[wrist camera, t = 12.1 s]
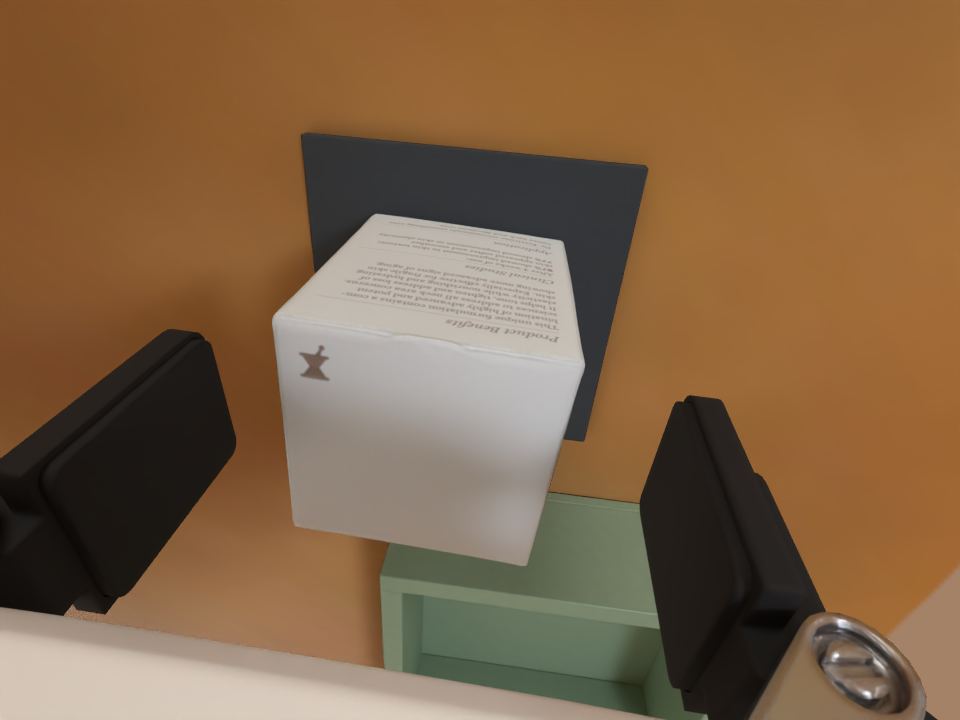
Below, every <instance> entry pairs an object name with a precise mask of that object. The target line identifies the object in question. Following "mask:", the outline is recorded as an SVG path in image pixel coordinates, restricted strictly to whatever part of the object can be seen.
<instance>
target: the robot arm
mask: <svg viewBox="0 0 960 720" xmlns="http://www.w3.org/2000/svg"><path fill="white" fill-rule="evenodd" d="M235 447H236V436H235V432H234V428H233V425H232V421H231V417H230V413H229V410H228V406H227V402H226V398H225V394H224V391H223V387H222V383H221V379H220V375H219V372H218V368H217V364H216V360H215V356H214V353H213V349H212V346H211V344H210V343H209V342H208V341H206V340H205V339H204V337H203V336H202V335H201V334H200V333H198V332H191V331H183V330H175V329H168V330H166V331H164V332H162V333H161V334H160V335H159V336H157V337H156V338H155V339H153V340H152V341H151V342H150V343H148V344H147V345H146V346H144V347H143V348H142V349H141V350H139V351H138V352H137V353H135V354H134V355H133V356H132V357H130V358H129V359H128V360H126V361H125V362H124V363H123V364H121V365H120V366H119V367H117V368H116V369H115V370H114V371H112V372H111V373H110V374H109V375H107V376H106V377H105V378H103V379H102V380H101V381H100V382H98V383H97V384H96V385H94V386H93V387H92V388H91V389H89V390H88V391H87V392H85V393H84V394H83V395H82V396H80V397H79V398H78V399H76V400H75V401H74V402H73V403H71V404H70V405H69V406H67V407H66V408H65V409H64V410H62V411H61V412H60V413H59V414H57V415H56V416H55V417H53V418H52V419H51V420H50V421H48V422H47V423H46V424H44V425H43V426H42V427H41V428H39V429H38V430H37V431H35V432H34V433H33V434H32V435H30V436H29V437H28V438H26V439H25V440H24V441H23V442H21V443H20V444H19V445H17V446H16V447H15V448H14V449H12V450H11V451H10V452H9V453H7V454H6V455H5V456H3V457H2V458H1V459H0V720H665V719H660V718H655V717H650V716H644V715H639V714H634V713H629V712H623V711H618V710H613V709H608V708H603V707H597V706H592V705H587V704H582V703H576V702H571V701H566V700H561V699H555V698H549V697H544V696H538V695H532V694H526V693H520V692H515V691H509V690H503V689H497V688H492V687H486V686H480V685H474V684H468V683H463V682H457V681H451V680H445V679H440V678H434V677H428V676H422V675H416V674H411V673H405V672H399V671H393V670H387V669H381V668H375V667H369V666H363V665H358V664H352V663H346V662H340V661H334V660H328V659H322V658H316V657H310V656H304V655H298V654H292V653H286V652H280V651H274V650H268V649H262V648H256V647H250V646H244V645H238V644H232V643H226V642H220V641H214V640H208V639H202V638H196V637H190V636H183V635H177V634H171V633H165V632H159V631H153V630H146V629H140V628H134V627H128V626H122V625H115V624H109V623H103V622H97V621H91V620H85V619H78V618H72V617H66V616H64V614H65V613H66V611H67V610H68V609H69V608H70V607H71V605H72V604H73V605H74V607H75V608H76V610H82V611H88V612H94V613H100V614H106V613H107V612H108V610H109V609H110V608H111V606H112V605H113V604H114V603H115V601H116V600H117V599H118V597H122V596H125V595H126V594H127V593H129V591H130V590H131V589H132V588H133V587H134V586H135V584H136V583H137V582H138V580H139V579H140V578H141V576H142V575H143V574H144V572H145V571H146V570H147V568H148V567H149V566H150V564H151V563H152V562H153V560H154V559H155V558H156V556H157V555H158V554H159V552H160V551H161V550H162V548H163V547H164V546H165V544H166V543H167V542H168V540H169V539H170V538H171V536H172V535H173V534H174V532H175V531H176V530H177V528H178V527H179V526H180V524H181V523H182V522H183V520H184V519H185V518H186V516H187V515H188V514H189V512H190V511H191V510H192V508H193V507H194V506H195V504H196V503H197V502H198V500H199V499H200V498H201V496H202V495H203V494H204V492H205V491H206V490H207V488H208V487H209V486H210V484H211V483H212V482H213V480H214V479H215V478H216V476H217V475H218V474H219V472H220V471H221V470H222V468H223V467H224V466H225V464H226V463H227V462H228V460H229V459H230V458H231V456H232V455H233V453H234V451H235ZM640 518H641V523H642V529H643V535H644V541H645V546H646V552H647V558H648V563H649V569H650V575H651V581H652V586H653V592H654V598H655V603H656V609H657V615H658V621H659V626H660V632H661V638H662V644H663V649H664V655H665V661H666V666H667V672H668V677H669V681H670V684H671V686H672V687H673V688H676V689H680V691H681V696H682V701H683V707H684V711H688V712H694V713H700V714H706V715H707V717H708V720H937V719H936V718H934V717H933V716H932V715H931V714H930V713H928V712H927V711H926V695H925V692H924V688H923V686H922V683H921V680H920V678H919V676H918V675H917V673H916V671H915V670H914V668H913V667H912V665H911V663H910V662H909V660H908V659H907V658H906V657H905V656H904V655H903V654H902V653H901V652H900V651H899V649H898V648H897V647H896V646H895V645H894V644H893V643H892V642H890V641H889V640H888V639H887V638H885V637H884V636H883V635H882V634H880V633H879V632H878V631H877V630H875V629H874V628H872V627H870V626H868V625H866V624H865V623H863V622H861V621H859V620H857V619H855V618H852V617H849V616H846V615H843V614H840V613H832V612H826V611H825V608H824V606H823V604H822V602H821V600H820V598H819V595H818V593H817V591H816V589H815V587H814V585H813V583H812V580H811V578H810V576H809V574H808V572H807V570H806V567H805V565H804V563H803V561H802V559H801V557H800V555H799V552H798V550H797V548H796V546H795V544H794V542H793V539H792V537H791V535H790V533H789V531H788V529H787V526H786V524H785V522H784V520H783V518H782V516H781V514H780V511H779V509H778V507H777V505H776V503H775V501H774V498H773V496H772V494H771V492H770V490H769V488H768V485H767V483H766V482H765V480H764V479H763V477H762V476H760V475H759V474H757V473H754V471H753V469H752V467H751V464H750V462H749V460H748V458H747V455H746V453H745V451H744V449H743V446H742V444H741V442H740V440H739V438H738V435H737V433H736V431H735V429H734V426H733V424H732V422H731V420H730V417H729V415H728V413H727V411H726V408H725V406H724V404H723V402H722V401H721V400H719V399H715V398H707V397H699V396H691V395H690V396H687V397H686V399H685V400H684V402H679V401H678V402H676V403H675V404H674V406H673V409H672V411H671V414H670V417H669V420H668V423H667V425H666V428H665V431H664V434H663V436H662V439H661V442H660V445H659V447H658V450H657V453H656V456H655V459H654V461H653V464H652V467H651V470H650V472H649V475H648V478H647V481H646V484H645V486H644V489H643V492H642V495H641V499H640Z"/></svg>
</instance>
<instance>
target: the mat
mask: <svg viewBox="0 0 960 720" xmlns="http://www.w3.org/2000/svg"><path fill="white" fill-rule="evenodd" d="M301 139H302V149H303V159H304V169H305V179H306V189H307V199H308V209H309V219H310V228H311V238H312V248H313V258H314V268H315V273H316V272H317V271H318V270H319V269H320V268H321V267H322V266H323V265H324V264H325V263H326V262H327V261H328V260H329V259H330V258H331V257H332V256H333V255H334V254H335V253H336V252H337V251H338V250H339V249H340V248H341V247H342V246H343V245H344V244H345V243H346V242H347V241H348V240H349V239H350V238H351V237H352V236H353V235H354V234H355V233H356V232H357V231H358V230H359V229H360V228H361V227H362V226H363V225H364V224H365V223H366V222H367V221H368V219H369V218H370V217H372V216H373V215H374V214H383V215H391V216H399V217H407V218H414V219H421V220H428V221H435V222H442V223H449V224H456V225H463V226H470V227H477V228H484V229H490V230H497V231H503V232H510V233H516V234H523V235H529V236H535V237H541V238H547V239H554V240H560V241H562V242H563V243H564V247H565V252H566V256H567V262H568V267H569V272H570V277H571V283H572V289H573V295H574V301H575V310H576V316H577V323H578V329H579V335H580V341H581V347H582V352H583V357H584V361H585V369H584V373H583V375H582V378H581V381H580V384H579V387H578V390H577V394H576V397H575V400H574V403H573V407H572V411H571V414H570V418H569V421H568V425H567V429H566V432H565V436H564V439H566V440H574V441H582V442H583V441H584V440H585V435H586V431H587V427H588V423H589V419H590V414H591V410H592V406H593V402H594V397H595V393H596V389H597V385H598V380H599V376H600V372H601V368H602V363H603V359H604V355H605V351H606V346H607V342H608V338H609V334H610V330H611V325H612V321H613V317H614V313H615V308H616V304H617V300H618V296H619V291H620V287H621V283H622V279H623V274H624V270H625V266H626V262H627V257H628V253H629V249H630V245H631V240H632V236H633V232H634V228H635V224H636V219H637V215H638V211H639V207H640V202H641V198H642V194H643V190H644V185H645V181H646V177H647V173H648V168H647V167H646V166H645V165H635V164H625V163H614V162H604V161H594V160H584V159H573V158H563V157H553V156H543V155H532V154H522V153H512V152H501V151H491V150H481V149H471V148H460V147H450V146H440V145H430V144H419V143H409V142H399V141H389V140H378V139H368V138H358V137H347V136H337V135H327V134H317V133H304V134H301Z"/></svg>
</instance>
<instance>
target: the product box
mask: <svg viewBox="0 0 960 720" xmlns="http://www.w3.org/2000/svg"><path fill="white" fill-rule="evenodd" d="M272 327H273V333H274V343H275V352H276V361H277V370H278V379H279V388H280V397H281V407H282V416H283V425H284V435H285V444H286V454H287V463H288V473H289V483H290V493H291V504H292V515H293V523H294V525H295V526H297V527H300V528H305V529H312V530H319V531H326V532H332V533H338V534H344V535H350V536H356V537H362V538H367V539H373V540H379V541H385V542H391V543H396V544H402V545H408V546H414V547H420V548H426V549H432V550H437V551H443V552H449V553H455V554H461V555H467V556H472V557H478V558H483V559H488V560H494V561H499V562H504V563H509V564H514V565H518V566H526V565H527V564H528V560H529V556H530V553H531V549H532V546H533V543H534V539H535V536H536V532H537V529H538V525H539V522H540V518H541V515H542V511H543V508H544V505H545V501H546V498H547V494H548V491H549V487H550V484H551V481H552V477H553V474H554V470H555V467H556V463H557V460H558V456H559V453H560V449H561V446H562V442H563V439H564V436H565V432H566V429H567V425H568V421H569V418H570V414H571V411H572V407H573V403H574V400H575V397H576V394H577V390H578V387H579V384H580V381H581V378H582V375H583V373H584V369H585V361H584V357H583V352H582V347H581V341H580V335H579V329H578V323H577V316H576V310H575V301H574V295H573V289H572V283H571V277H570V272H569V267H568V262H567V256H566V252H565V247H564V243H563V242H562V241H560V240H554V239H547V238H541V237H535V236H529V235H523V234H516V233H510V232H503V231H497V230H490V229H484V228H477V227H470V226H463V225H456V224H449V223H442V222H435V221H428V220H421V219H414V218H407V217H399V216H391V215H383V214H374V215H373V216H372V217H370V218H369V219H368V221H367V222H366V223H365V224H364V225H363V226H362V227H361V228H360V229H359V230H358V231H357V232H356V233H355V234H354V235H353V236H352V237H351V238H350V239H349V240H348V241H347V242H346V243H345V244H344V245H343V246H342V247H341V248H340V249H339V250H338V251H337V252H336V253H335V254H334V255H333V256H332V257H331V258H330V259H329V260H328V261H327V262H326V263H325V264H324V265H323V266H322V267H321V268H320V269H319V270H318V271H317V272H316V273H315V274H314V275H313V276H312V277H311V278H310V280H309V281H308V282H307V283H306V284H305V285H304V286H302V287H301V289H300V290H299V291H298V292H297V293H296V294H295V295H294V296H293V297H291V298H290V299H289V300H288V301H287V302H286V303H285V304H284V305H283V306H282V307H281V308H280V309H279V310H278V311H277V312H276V313H275V314H274V316H273V319H272Z"/></svg>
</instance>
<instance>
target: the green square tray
mask: <svg viewBox="0 0 960 720" xmlns="http://www.w3.org/2000/svg"><path fill="white" fill-rule="evenodd" d="M379 578H380V593H381V615H382V638H383V660H384V669H387V670H393V671H399V672H405V673H411V674H416V675H422V676H428V677H434V678H440V679H445V680H451V681H457V682H463V683H468V684H474V685H480V686H486V687H492V688H497V689H503V690H509V691H515V692H520V693H526V694H532V695H538V696H544V697H549V698H555V699H561V700H566V701H571V702H576V703H582V704H587V705H592V706H597V707H603V708H608V709H613V710H618V711H623V712H629V713H634V714H639V715H644V716H650V717H655V718H660V719H665V720H708V717H707V715H706V714H700V713H694V712H688V711H684V707H683V701H682V696H681V691H680V689H676V688H673V687H672V686H671V684H670V681H669V677H668V672H667V666H666V661H665V655H664V649H663V644H662V638H661V632H660V626H659V621H658V615H657V609H656V603H655V598H654V592H653V586H652V581H651V575H650V569H649V563H648V558H647V552H646V546H645V541H644V535H643V529H642V523H641V518H640V504H635V503H628V502H620V501H612V500H605V499H597V498H589V497H582V496H574V495H566V494H559V493H551V492H548V494H547V498H546V501H545V505H544V508H543V511H542V515H541V518H540V522H539V525H538V529H537V532H536V536H535V539H534V543H533V546H532V549H531V553H530V556H529V560H528V564H527V565H526V566H518V565H514V564H509V563H504V562H499V561H494V560H488V559H483V558H478V557H472V556H467V555H461V554H455V553H449V552H443V551H437V550H432V549H426V548H420V547H414V546H408V545H402V544H396V543H391V542H390V543H389V546H388V549H387V553H386V556H385V559H384V562H383V565H382V569H381V572H380V575H379Z"/></svg>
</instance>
